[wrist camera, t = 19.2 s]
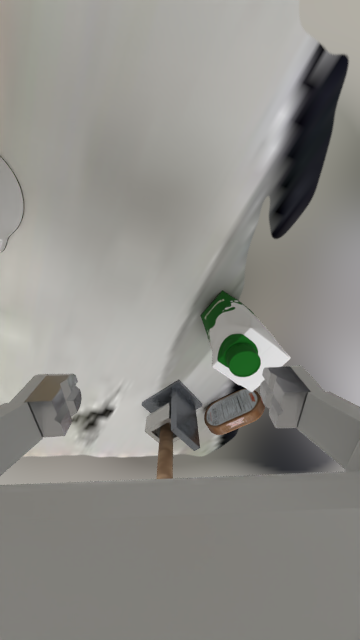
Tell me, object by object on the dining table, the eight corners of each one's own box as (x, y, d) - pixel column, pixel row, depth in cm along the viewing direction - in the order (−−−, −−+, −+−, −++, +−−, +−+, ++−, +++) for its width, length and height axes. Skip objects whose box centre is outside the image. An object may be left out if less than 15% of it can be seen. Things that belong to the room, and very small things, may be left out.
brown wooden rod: (161, 423, 52) (154, 513, 36) (160, 414, 51) (153, 503, 35) (173, 422, 53) (172, 512, 36) (173, 413, 51) (172, 502, 35)
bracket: (166, 423, 58) (164, 469, 47) (142, 402, 55) (133, 446, 44) (201, 403, 55) (208, 447, 45) (178, 379, 52) (179, 420, 41)
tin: (206, 412, 57) (211, 442, 49) (200, 405, 56) (204, 434, 48) (257, 389, 54) (271, 416, 46) (252, 380, 53) (265, 407, 45)
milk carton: (221, 284, 42) (257, 329, 24) (253, 309, 45) (307, 367, 27) (194, 316, 45) (207, 378, 27) (225, 338, 48) (257, 409, 29)
